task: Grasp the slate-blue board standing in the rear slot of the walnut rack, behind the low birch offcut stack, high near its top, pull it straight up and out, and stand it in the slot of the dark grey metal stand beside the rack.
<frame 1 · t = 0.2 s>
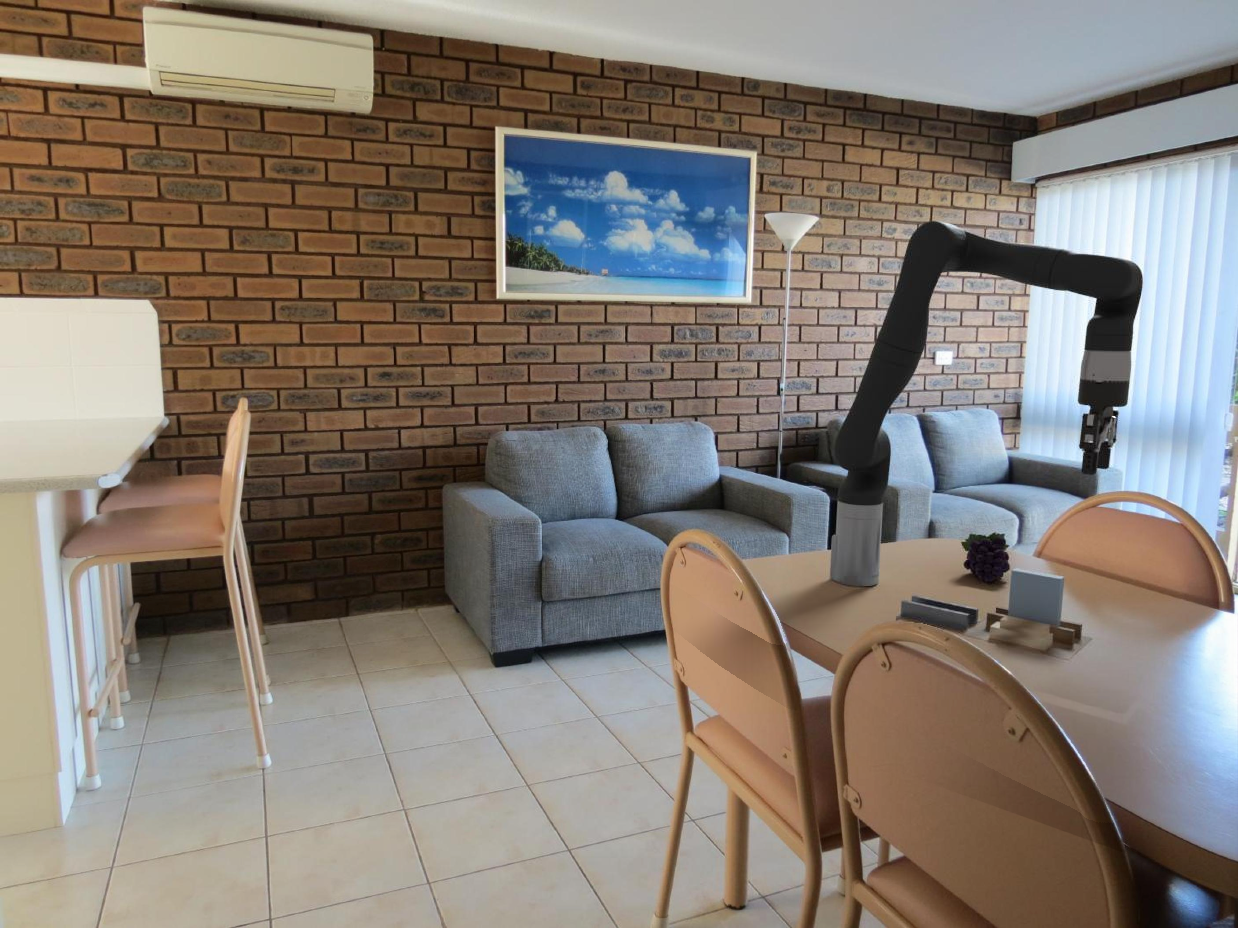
hand: (1095, 471, 152), 29 cm above the table, fingers open, 8 cm apart
offcut rack: (1026, 641, 150), on the table
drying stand: (938, 623, 159), on the table
tall sheet: (1032, 631, 152), point 1 cm above the table, touching offcut rack
offcut stack: (1020, 641, 147), point 1 cm above the table, touching offcut rack
fruit: (985, 578, 190), on the table
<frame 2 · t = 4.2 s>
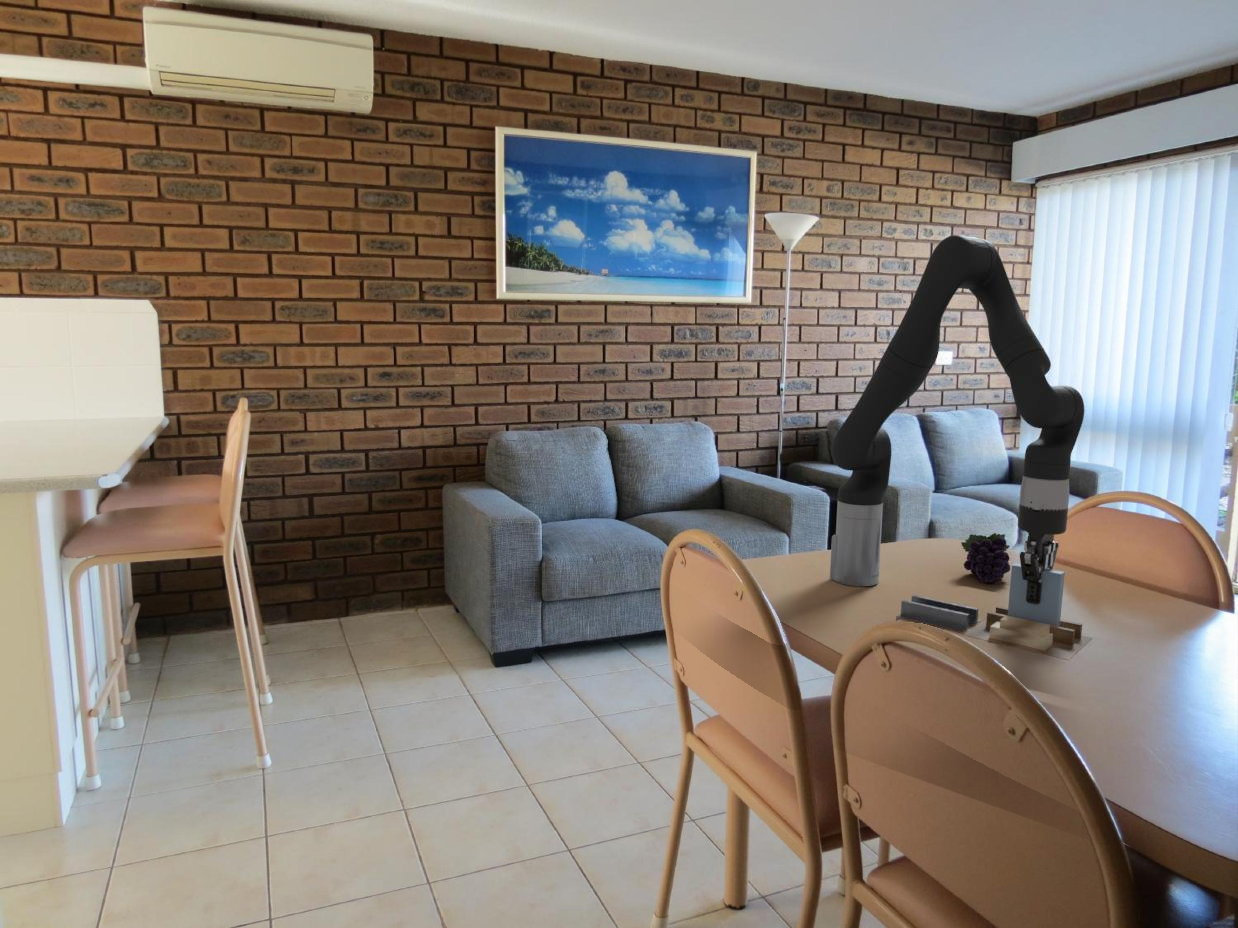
hand: (1035, 601, 151), 7 cm above the table, fingers closed on tall sheet, 1 cm apart
tall sheet: (1032, 626, 152), point 2 cm above the table, touching gripper
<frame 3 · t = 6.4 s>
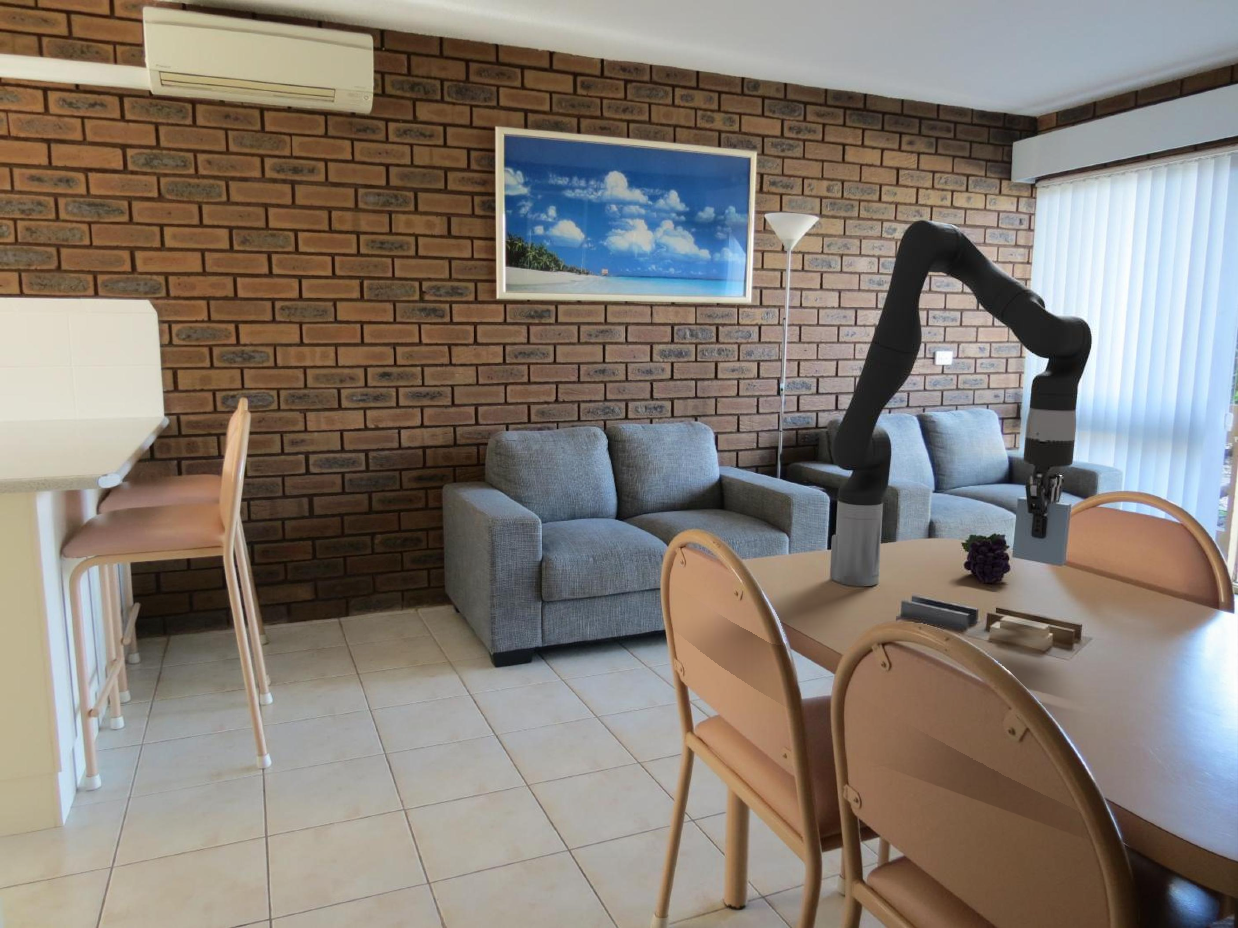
hand: (1040, 536, 149), 18 cm above the table, fingers closed on tall sheet
tall sheet: (1038, 560, 150), point 14 cm above the table, touching gripper
everything else where it was.
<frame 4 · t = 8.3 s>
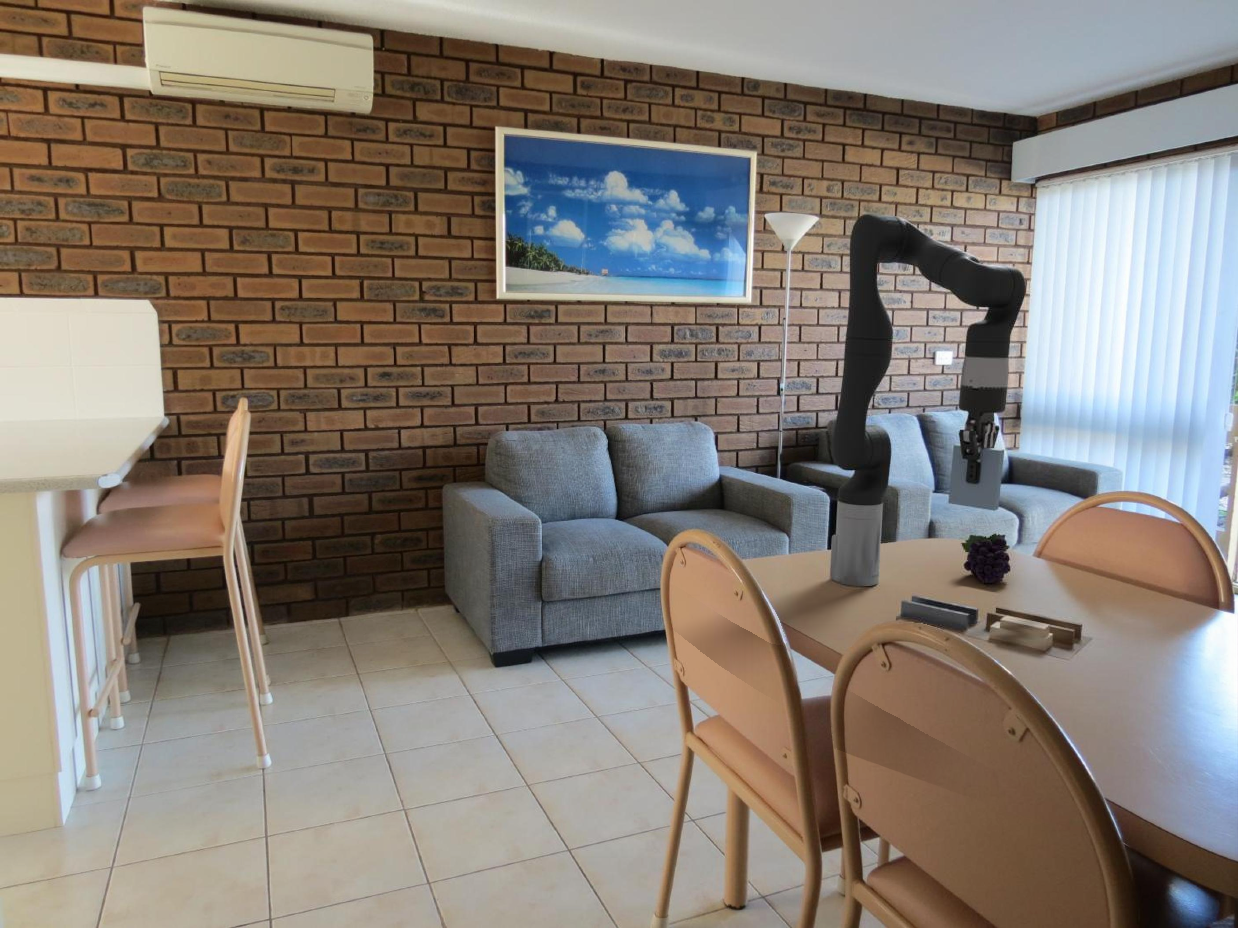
hand: (975, 482, 153), 26 cm above the table, fingers closed on tall sheet
tall sheet: (972, 506, 154), point 22 cm above the table, touching gripper
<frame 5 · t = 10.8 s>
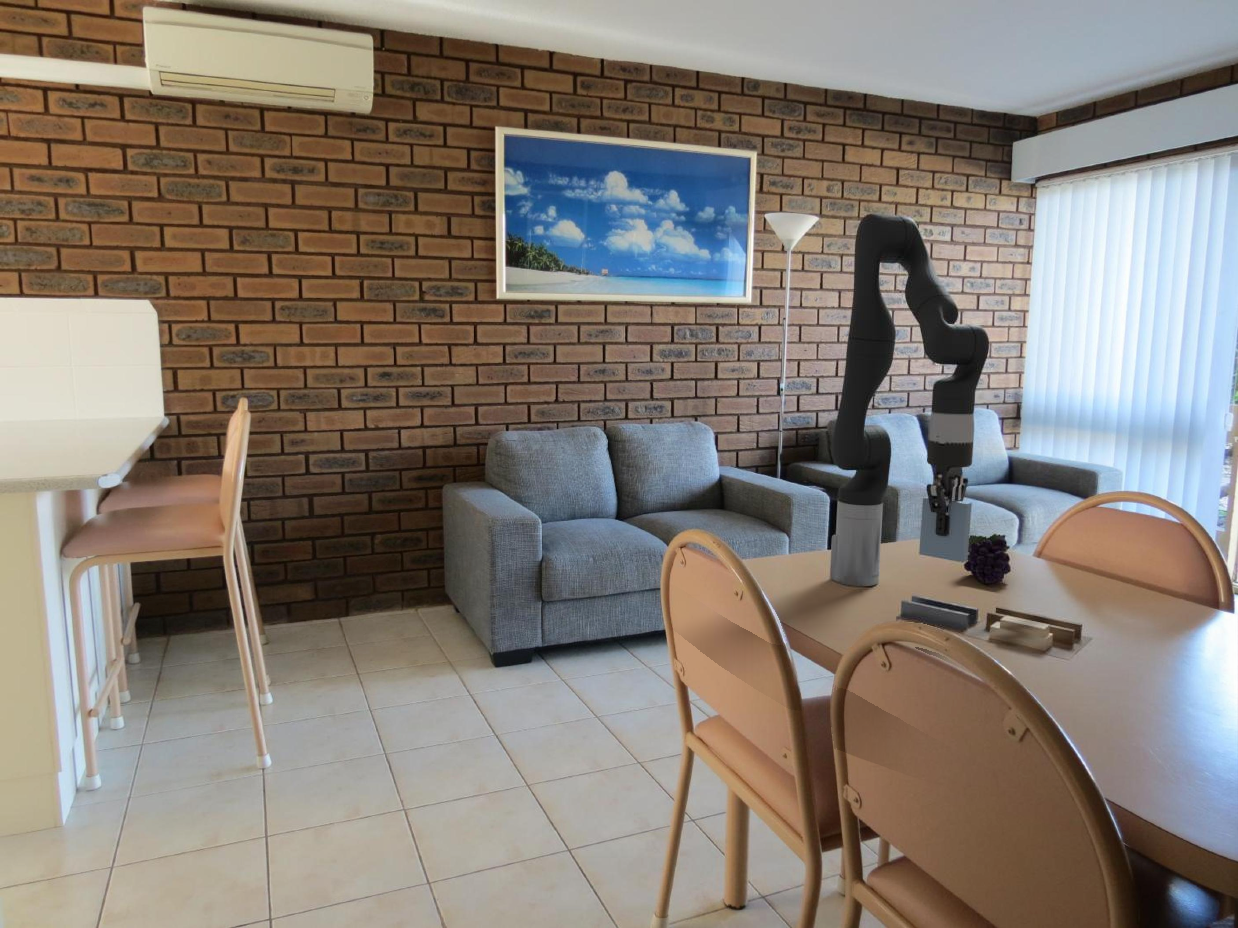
hand: (944, 534, 156), 17 cm above the table, fingers closed on tall sheet
tall sheet: (942, 557, 157), point 12 cm above the table, touching gripper
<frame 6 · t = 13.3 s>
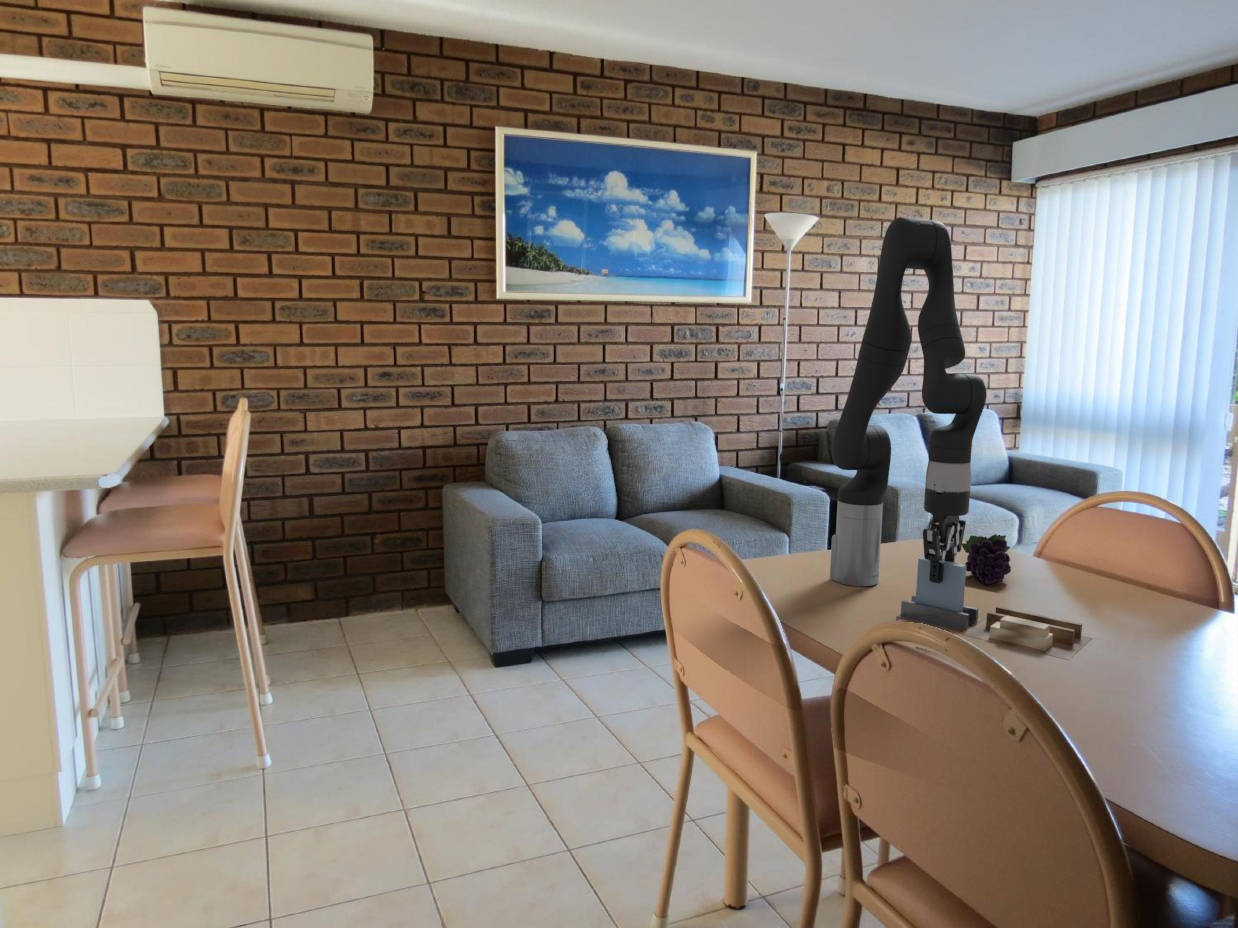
hand: (941, 579, 158), 8 cm above the table, fingers open, 4 cm apart
tall sheet: (938, 617, 159), point 1 cm above the table, touching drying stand
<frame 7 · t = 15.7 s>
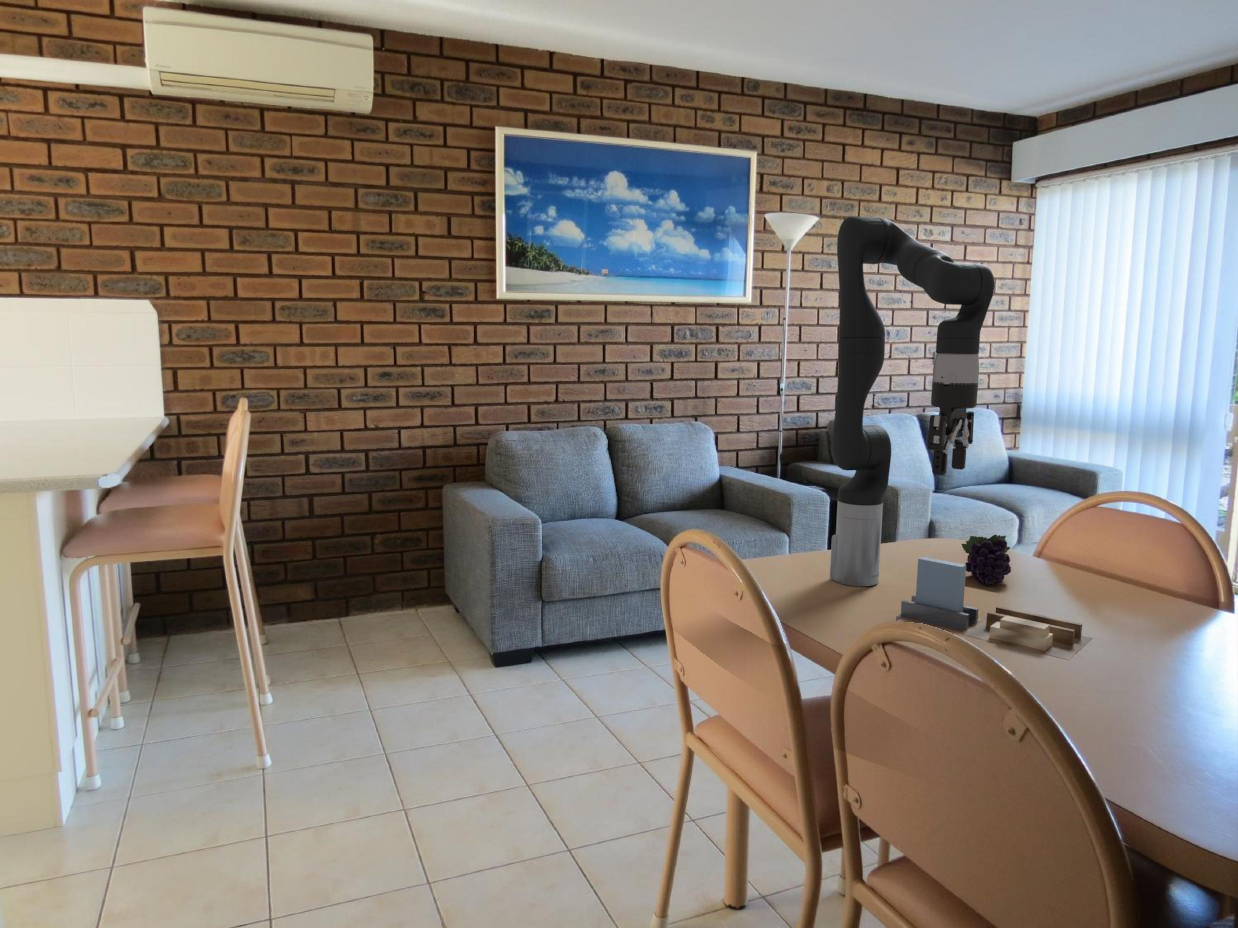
hand: (948, 471, 155), 28 cm above the table, fingers open, 8 cm apart
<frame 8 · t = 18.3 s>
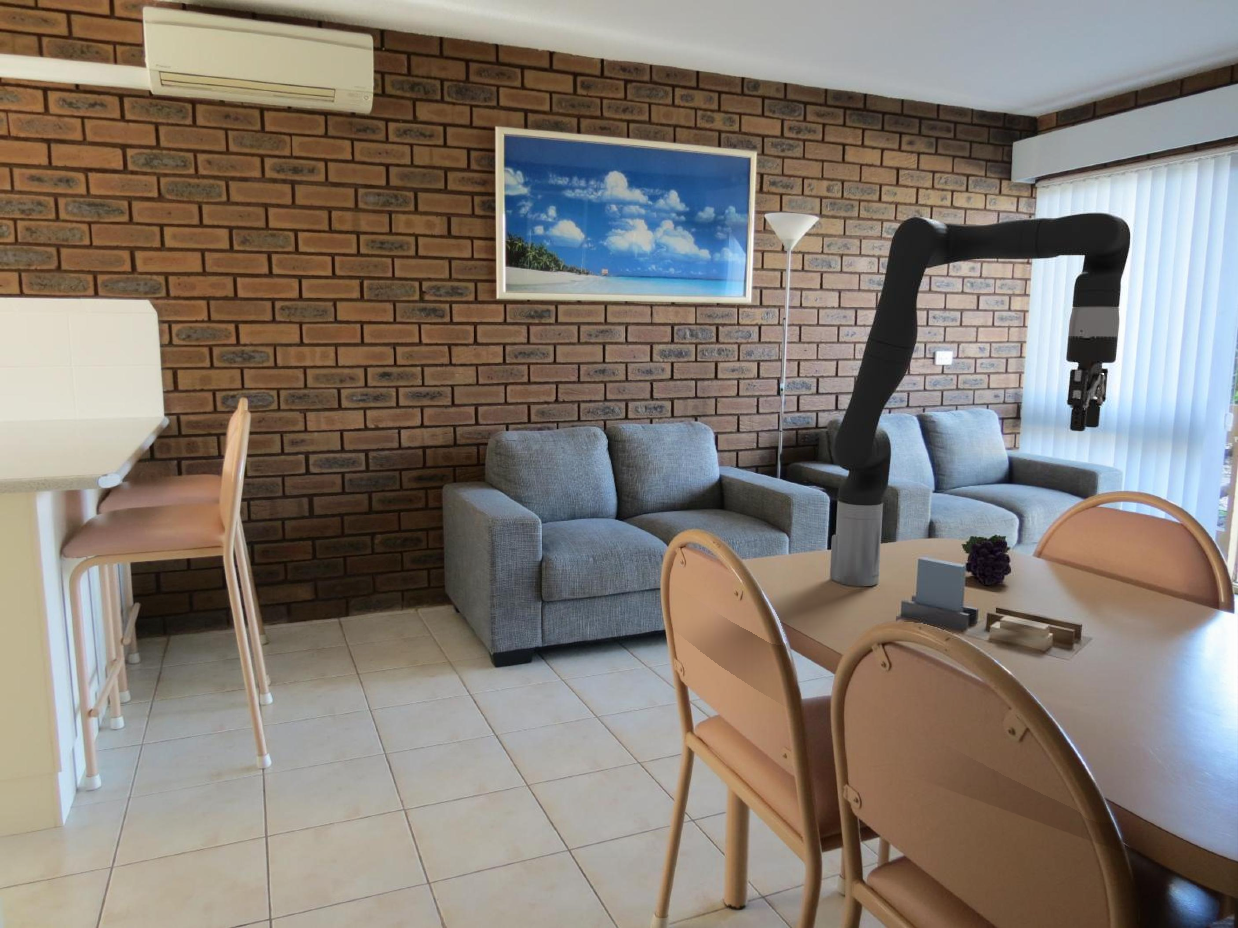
hand: (1084, 429, 151), 36 cm above the table, fingers open, 8 cm apart
at the end: tall sheet 0.1 cm off-centre on the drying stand, point 1.0 cm above the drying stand's base; tall sheet tilted 0°; the gripper is holding nothing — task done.
